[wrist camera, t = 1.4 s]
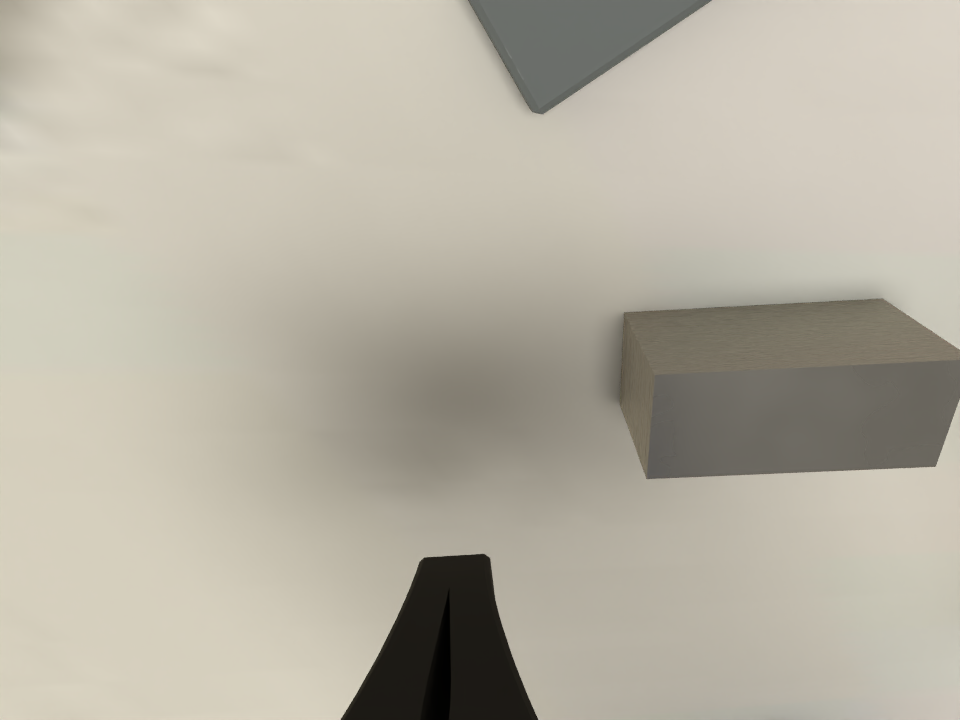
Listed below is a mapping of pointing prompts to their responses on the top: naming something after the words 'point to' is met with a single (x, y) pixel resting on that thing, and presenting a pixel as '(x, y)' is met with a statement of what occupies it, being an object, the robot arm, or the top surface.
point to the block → (785, 389)
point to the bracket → (572, 39)
